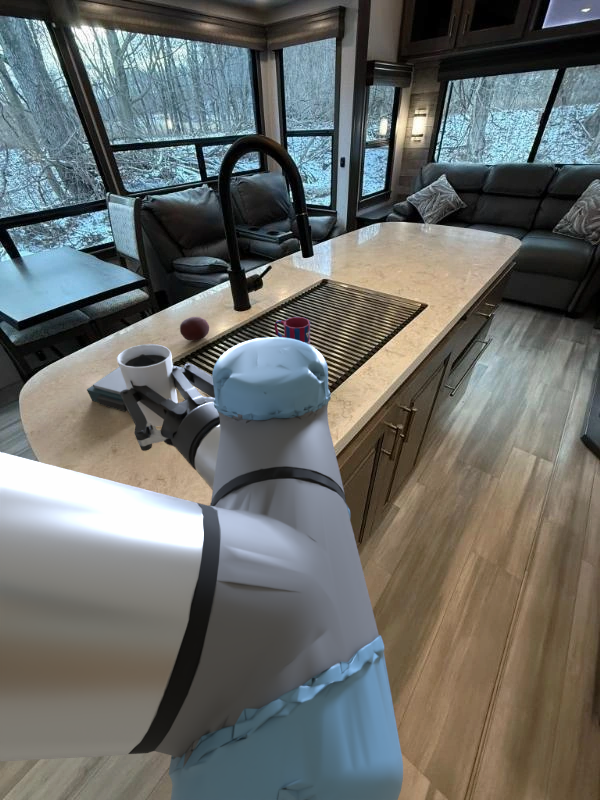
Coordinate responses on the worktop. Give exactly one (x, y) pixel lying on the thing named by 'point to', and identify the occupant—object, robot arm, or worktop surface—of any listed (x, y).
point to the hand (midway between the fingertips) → (137, 363)
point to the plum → (194, 328)
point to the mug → (295, 329)
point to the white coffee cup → (149, 374)
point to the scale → (110, 390)
